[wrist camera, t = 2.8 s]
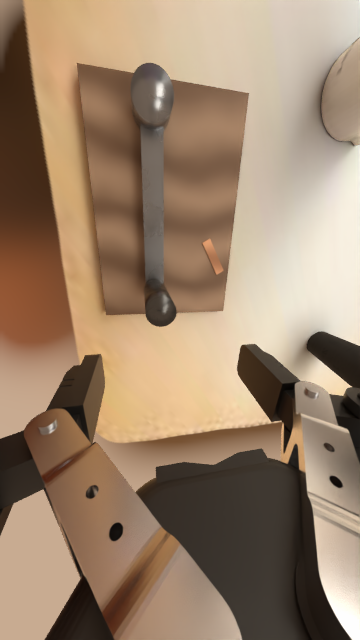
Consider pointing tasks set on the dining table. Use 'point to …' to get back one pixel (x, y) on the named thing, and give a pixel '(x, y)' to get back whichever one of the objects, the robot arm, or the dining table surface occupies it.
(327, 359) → the drinking cup
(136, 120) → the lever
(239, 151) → the board
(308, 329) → the dining table surface
